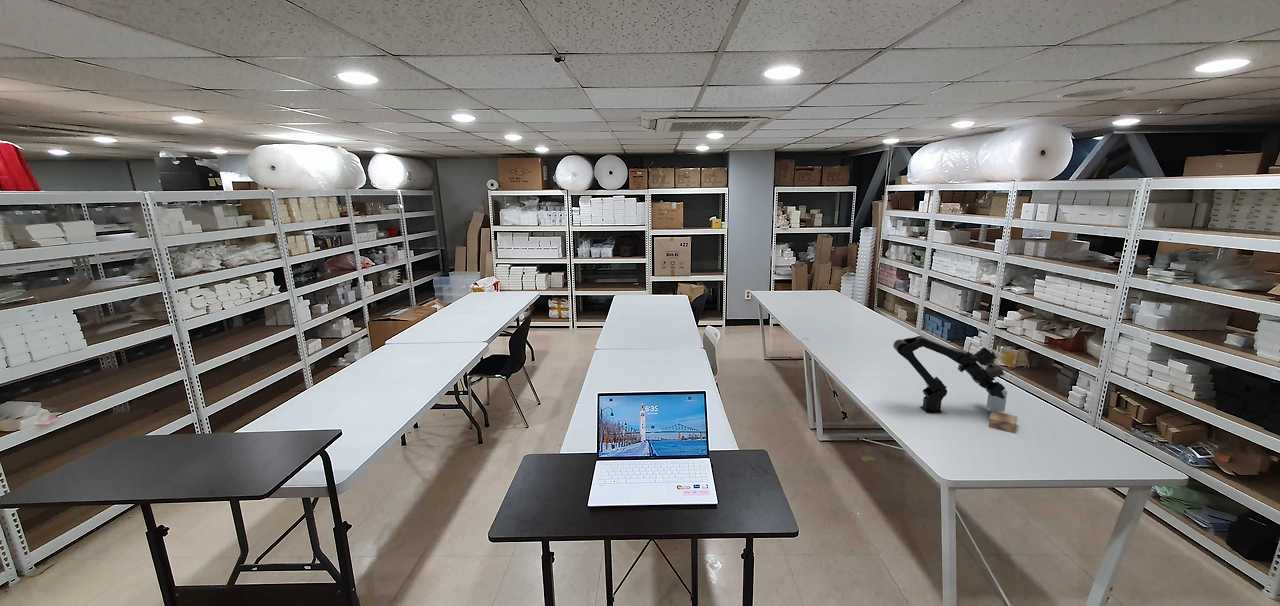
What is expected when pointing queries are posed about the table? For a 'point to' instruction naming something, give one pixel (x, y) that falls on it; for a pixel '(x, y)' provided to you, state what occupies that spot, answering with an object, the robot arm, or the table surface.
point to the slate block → (997, 402)
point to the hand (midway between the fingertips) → (1000, 395)
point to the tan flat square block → (1002, 421)
